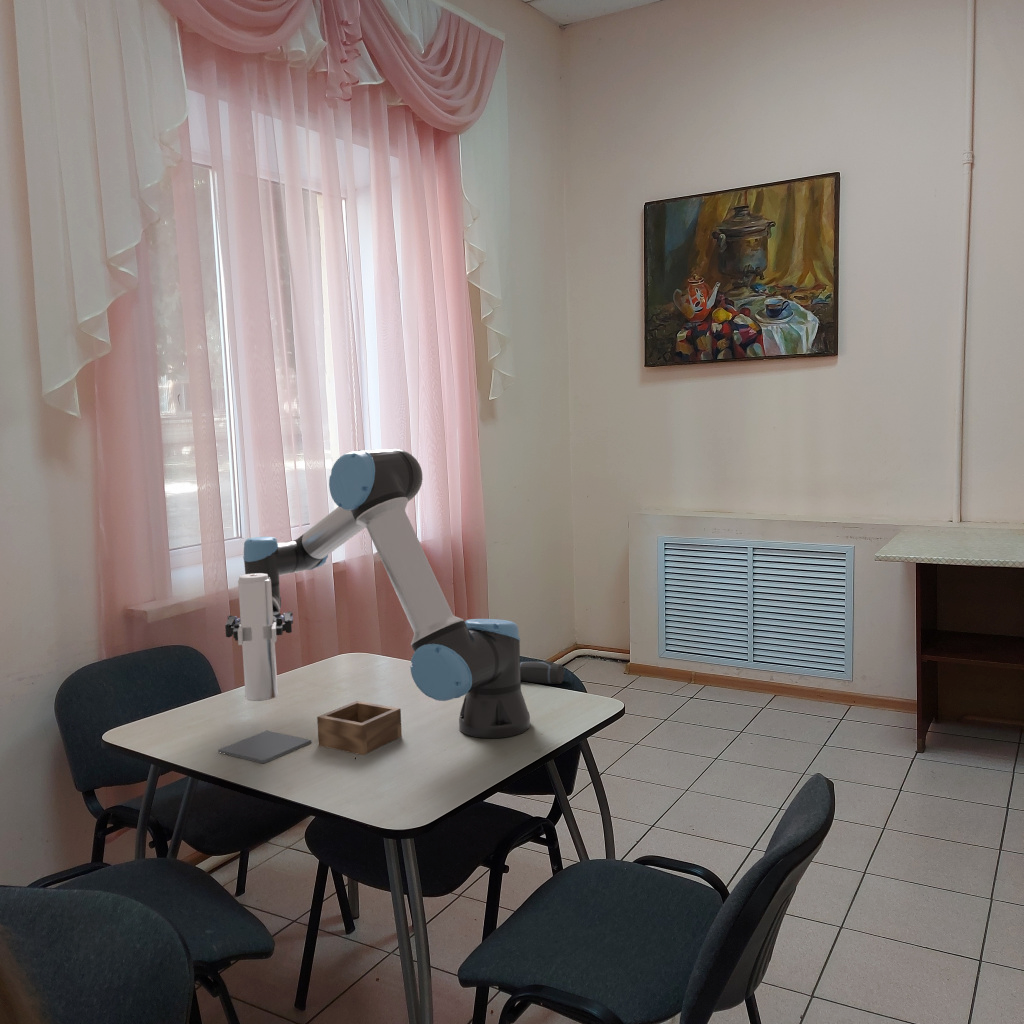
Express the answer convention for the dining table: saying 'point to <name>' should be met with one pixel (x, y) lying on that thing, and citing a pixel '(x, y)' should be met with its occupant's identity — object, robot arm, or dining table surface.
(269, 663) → the shiny metal cylinder
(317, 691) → the dining table surface
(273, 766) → the dining table surface
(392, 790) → the dining table surface
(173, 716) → the dining table surface
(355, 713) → the square wooden frame
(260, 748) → the mat
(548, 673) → the power drill
